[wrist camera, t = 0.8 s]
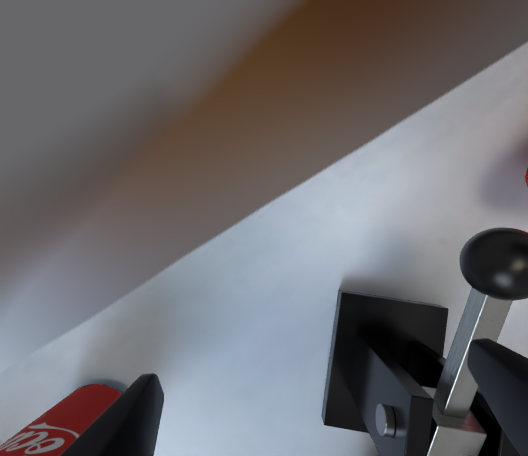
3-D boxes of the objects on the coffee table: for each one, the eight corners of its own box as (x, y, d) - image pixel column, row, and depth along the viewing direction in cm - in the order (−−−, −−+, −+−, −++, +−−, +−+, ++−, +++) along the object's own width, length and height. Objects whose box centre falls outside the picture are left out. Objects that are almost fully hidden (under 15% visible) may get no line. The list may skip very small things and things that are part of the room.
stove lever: (457, 215, 13) (502, 234, 10) (525, 225, 13) (590, 246, 10) (393, 419, 17) (414, 476, 14) (447, 429, 16) (481, 489, 14)
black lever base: (338, 289, 24) (386, 327, 13) (440, 305, 23) (570, 356, 13) (321, 415, 23) (356, 555, 13) (424, 433, 23) (546, 593, 13)
